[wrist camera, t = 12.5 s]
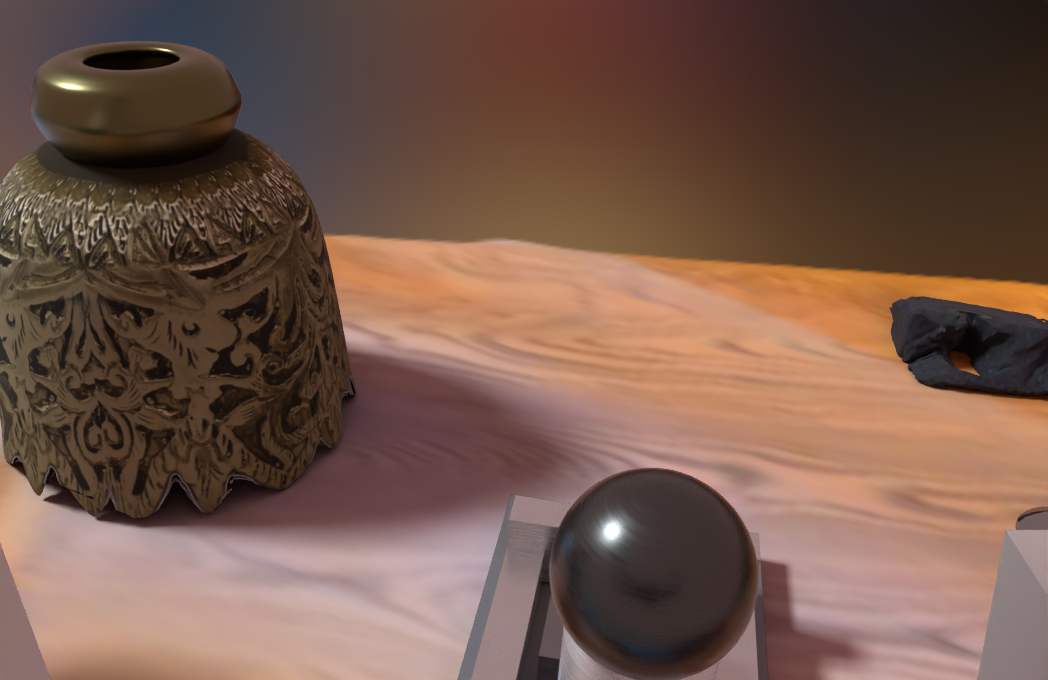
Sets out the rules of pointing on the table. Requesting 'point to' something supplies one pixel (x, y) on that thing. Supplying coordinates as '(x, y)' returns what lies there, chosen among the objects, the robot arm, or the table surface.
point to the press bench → (540, 615)
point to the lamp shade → (161, 289)
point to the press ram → (630, 583)
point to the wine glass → (1033, 519)
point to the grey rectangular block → (550, 645)
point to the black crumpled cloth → (972, 345)
